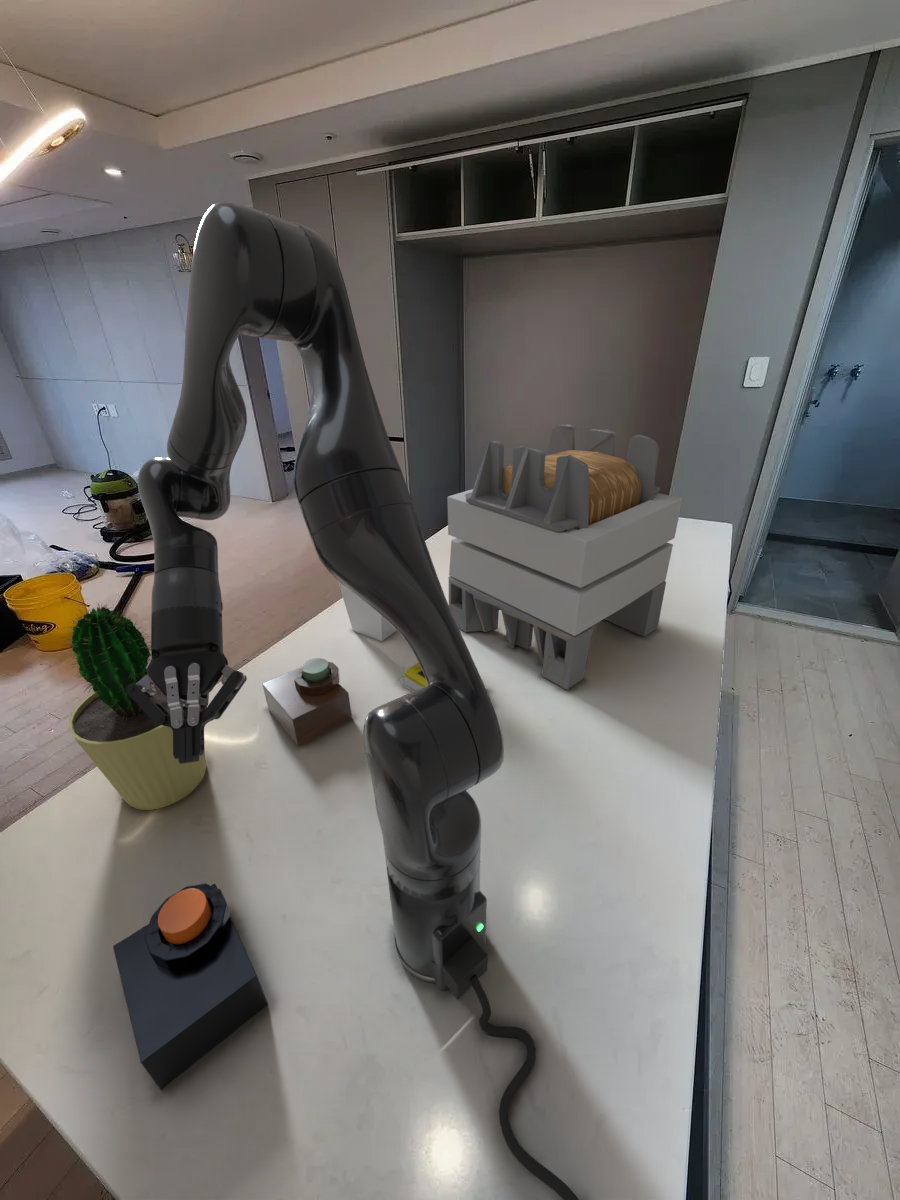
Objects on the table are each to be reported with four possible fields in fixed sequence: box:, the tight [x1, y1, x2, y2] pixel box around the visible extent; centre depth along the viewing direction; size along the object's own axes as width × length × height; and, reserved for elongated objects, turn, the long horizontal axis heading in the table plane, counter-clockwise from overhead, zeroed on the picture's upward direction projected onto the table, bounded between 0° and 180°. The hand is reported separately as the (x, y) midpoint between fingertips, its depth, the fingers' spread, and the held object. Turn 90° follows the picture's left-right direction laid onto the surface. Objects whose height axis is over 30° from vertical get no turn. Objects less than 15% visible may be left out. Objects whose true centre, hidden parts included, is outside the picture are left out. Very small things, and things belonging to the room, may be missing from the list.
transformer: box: [446, 423, 683, 691], centre depth 103 cm, size 34×33×41 cm
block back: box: [262, 661, 353, 747], centre depth 87 cm, size 12×11×8 cm
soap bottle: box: [337, 580, 397, 642], centre depth 107 cm, size 12×10×26 cm
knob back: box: [301, 657, 330, 683], centre depth 86 cm, size 4×4×2 cm
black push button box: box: [112, 882, 269, 1091], centre depth 50 cm, size 12×10×8 cm
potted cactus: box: [60, 602, 207, 811], centre depth 69 cm, size 15×15×30 cm
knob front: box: [158, 888, 211, 945], centre depth 51 cm, size 4×4×2 cm
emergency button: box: [399, 662, 489, 694], centre depth 93 cm, size 9×4×15 cm
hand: (189, 762), depth 56 cm, fingers closed
